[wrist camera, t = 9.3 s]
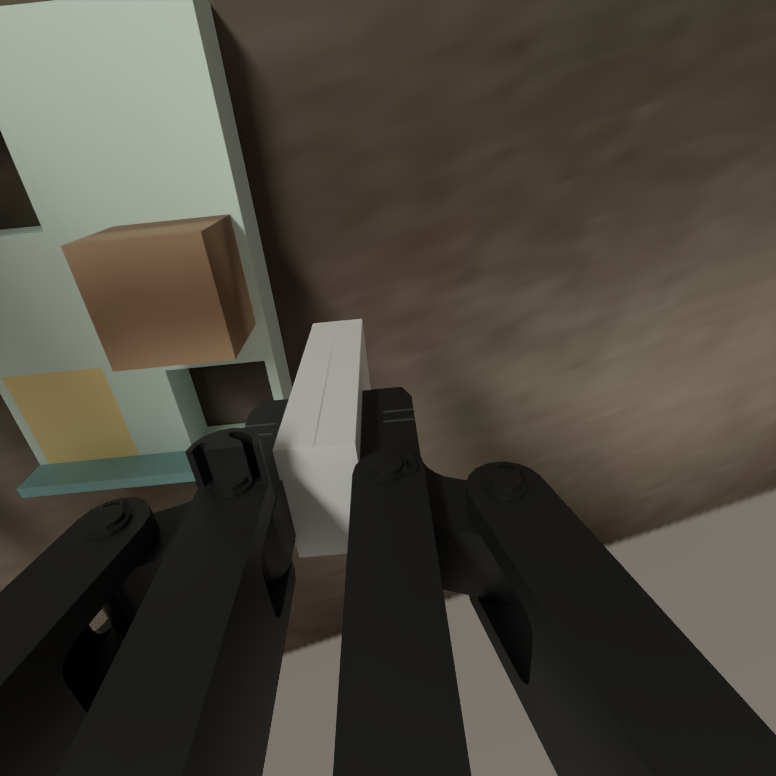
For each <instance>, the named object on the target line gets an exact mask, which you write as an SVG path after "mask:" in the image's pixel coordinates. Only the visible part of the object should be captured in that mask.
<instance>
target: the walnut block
mask: <svg viewBox="0 0 776 776" xmlns="http://www.w3.org/2000/svg"><path fill="white" fill-rule="evenodd" d="M61 248H62V251H63V253H64V256H65V258H66V260H67V263H68V265H69V268H70V270H71V272H72V275H73V277H74V279H75V282H76V284H77V287H78V289H79V291H80V294H81V296H82V299H83V301H84V303H85V306H86V308H87V311H88V313H89V315H90V318H91V320H92V323H93V325H94V327H95V330H96V332H97V335H98V337H99V339H100V342H101V344H102V346H103V349H104V351H105V354H106V356H107V358H108V361H109V363H110V366H111V368H112V370H113V372H115V371H125V370H135V369H145V368H155V367H165V366H175V365H185V364H195V363H205V362H215V361H225V360H235V359H236V358H237V356H238V354H239V353H240V351H241V349H242V348H243V346H244V344H245V342H246V341H247V339H248V337H249V335H250V334H251V332H252V330H253V328H254V327H255V325H256V322H255V317H254V313H253V309H252V305H251V301H250V297H249V292H248V288H247V284H246V280H245V276H244V272H243V267H242V263H241V259H240V255H239V251H238V247H237V242H236V238H235V234H234V230H233V226H232V222H231V218H230V214H227V215H218V216H208V217H198V218H188V219H179V220H169V221H159V222H150V223H140V224H130V225H120V226H113V227H110V228H108V229H105V230H102V231H99V232H97V233H94V234H91V235H89V236H86V237H83V238H81V239H78V240H75V241H72V242H70V243H67V244H64V245H62V246H61Z"/></svg>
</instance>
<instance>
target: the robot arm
mask: <svg viewBox="0 0 776 776" xmlns="http://www.w3.org/2000/svg"><path fill="white" fill-rule="evenodd" d="M185 453H186V456H187V459H188V461H189V464H190V467H191V470H192V472H193V475H194V478H195V481H196V484H197V486H198V490H197V492H196V494H195V496H194V498H193V500H192V501H190V502H188V503H185V504H182V505H179V506H176V507H173V508H169V509H166V510H163V511H160V512H156V513H153V512H152V510H151V507H150V506H149V504H148V503H147V502H146V501H145V500H143V499H139V498H136V497H130V498H120V499H116V500H113V501H109V502H106V503H104V504H102V505H100V506H98V507H96V508H94V509H92V510H90V511H89V512H88V513H86V514H85V515H84V516H82V517H81V518H80V519H78V520H77V521H76V522H75V523H74V524H73V525H72V526H71V527H70V528H68V529H67V530H66V531H65V532H64V533H63V534H62V535H61V536H60V537H59V538H58V539H57V540H56V541H55V542H53V543H52V544H51V545H50V546H49V547H48V548H47V549H46V550H45V551H44V552H43V553H42V554H41V555H40V556H38V557H37V558H36V559H35V560H34V561H33V562H32V563H31V564H30V565H29V566H28V567H27V568H26V569H25V570H23V571H22V572H21V573H20V574H19V575H18V576H17V577H16V578H15V579H14V580H13V581H12V582H11V583H10V584H8V585H7V586H6V587H5V588H4V589H3V590H2V591H1V592H0V776H262V774H263V768H264V762H265V756H266V750H267V744H268V739H269V733H270V727H271V721H272V715H273V709H274V703H275V697H276V692H277V686H278V680H279V674H280V668H281V662H282V656H283V651H284V645H285V639H286V633H287V627H288V621H289V615H290V609H291V604H292V598H293V592H294V586H295V569H294V565H293V562H292V553H293V548H294V543H295V542H296V546H297V550H298V554H299V558H303V557H314V556H326V555H337V554H347V564H346V580H345V595H344V611H343V627H342V643H341V658H340V673H339V690H338V705H337V721H336V736H335V752H334V767H333V776H471V771H470V764H469V758H468V751H467V744H466V738H465V732H464V725H463V718H462V712H461V705H460V699H459V692H458V686H457V679H456V672H455V666H454V660H453V653H452V646H451V641H450V633H449V627H448V620H447V614H446V607H445V600H444V594H443V590H448V591H453V592H457V593H462V594H467V595H469V597H470V601H471V603H472V605H473V607H474V609H475V611H476V613H477V615H478V617H479V619H480V621H481V623H482V625H483V627H484V629H485V631H486V633H487V635H488V637H489V639H490V641H491V643H492V645H493V647H494V649H495V651H496V653H497V655H498V657H499V659H500V661H501V663H502V665H503V667H504V669H505V671H506V673H507V675H508V677H509V679H510V681H511V683H512V685H513V686H514V689H515V691H516V693H517V695H518V697H519V699H520V701H521V703H522V705H523V707H524V709H525V711H526V713H527V715H528V717H529V719H530V721H531V723H532V725H533V727H534V729H535V731H536V732H537V735H538V737H539V739H540V741H541V743H542V745H543V747H544V749H545V751H546V753H547V755H548V757H549V759H550V761H551V763H552V765H553V767H554V769H555V771H556V773H557V775H558V776H776V735H775V734H774V732H772V731H771V729H770V728H769V727H768V726H767V725H766V724H765V723H764V722H763V720H762V719H761V718H760V717H759V716H758V715H757V714H756V713H755V712H754V711H753V709H752V708H751V707H750V706H749V705H748V704H747V703H746V702H745V701H744V700H743V698H742V697H741V696H740V695H739V694H738V693H737V692H736V691H735V690H734V688H733V687H731V685H730V684H729V683H728V682H727V681H726V680H725V679H724V677H723V676H722V675H721V674H720V673H719V672H718V671H717V670H716V669H715V668H714V667H713V665H712V664H711V663H710V662H709V661H708V660H707V659H706V658H705V657H704V656H703V655H702V653H701V652H700V651H699V650H698V649H697V648H696V647H695V646H694V645H693V643H692V642H691V641H690V640H689V639H688V638H687V637H686V636H685V635H684V633H683V632H682V631H681V630H680V629H679V628H678V627H677V626H676V625H675V624H674V622H673V621H672V620H671V619H670V618H669V617H668V616H667V615H666V614H665V613H664V612H663V610H662V609H661V608H660V607H659V606H658V605H657V604H656V603H655V602H654V600H653V599H652V598H651V597H650V596H649V595H648V594H647V593H646V592H645V591H644V590H643V589H642V587H641V586H640V585H639V584H638V583H637V582H636V581H635V580H634V578H632V577H631V575H630V574H629V573H628V572H627V571H626V570H625V569H624V567H623V566H622V565H621V564H620V563H619V562H618V561H617V560H616V559H615V558H614V556H613V555H612V554H611V553H610V552H609V551H608V550H607V549H606V548H605V547H604V545H603V544H602V543H601V542H600V541H599V540H598V539H597V538H596V537H595V536H594V534H593V533H592V532H591V531H590V530H589V529H588V528H587V527H586V526H585V525H584V523H583V522H582V521H581V520H580V519H579V518H578V517H577V516H576V515H575V514H574V512H573V511H572V510H571V509H570V508H569V507H568V506H567V505H566V504H565V503H564V501H563V500H562V499H561V498H560V497H559V496H558V495H557V494H556V493H555V492H554V490H553V489H552V488H551V487H550V486H549V485H548V484H547V483H546V482H545V481H544V479H543V478H542V477H541V476H540V475H538V474H537V473H536V472H534V471H533V470H532V469H530V468H528V467H525V466H522V465H520V464H517V463H509V462H495V463H488V464H485V465H483V466H480V467H478V468H476V469H475V470H474V471H473V472H472V473H471V474H470V475H469V476H468V480H461V479H454V478H450V477H445V476H442V475H440V474H437V473H435V472H433V471H432V470H430V469H429V468H428V467H427V466H426V465H425V464H424V463H423V461H422V459H421V456H420V449H419V443H418V436H417V430H416V423H415V416H414V410H413V403H412V397H411V395H410V394H409V393H408V392H407V391H405V390H404V389H403V388H402V387H395V388H385V389H374V390H371V387H370V379H369V371H368V363H367V355H366V347H365V338H364V330H363V322H362V319H354V320H344V321H334V322H323V323H313V325H312V328H311V331H310V335H309V338H308V341H307V344H306V347H305V350H304V353H303V356H302V360H301V363H300V366H299V369H298V372H297V375H296V378H295V381H294V385H293V388H292V391H291V394H290V397H289V399H282V400H272V401H263V402H262V403H261V404H260V405H258V406H257V407H256V408H255V409H254V410H253V411H252V412H251V413H250V415H249V417H248V419H247V421H246V424H245V427H244V428H229V429H224V430H218V431H216V432H213V433H210V434H208V435H205V436H203V437H202V438H200V439H199V440H197V441H196V442H194V443H193V444H192V445H191V446H190V447H189V448H188V449H187V450H186V451H185ZM101 609H103V611H104V612H105V614H106V616H107V617H108V619H107V620H106V622H105V623H104V624H103V625H102V626H101V627H100V628H98V629H97V630H96V631H93V630H92V629H91V627H90V626H89V623H90V622H91V621H92V620H93V619H94V617H95V616H96V615H97V614H98V612H99V611H100V610H101Z"/></svg>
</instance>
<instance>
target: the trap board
mask: <svg viewBox="0 0 776 776" xmlns="http://www.w3.org/2000/svg"><path fill="white" fill-rule="evenodd" d="M0 131H1V133H2V136H3V138H4V140H5V143H6V145H7V147H8V150H9V152H10V154H11V157H12V159H13V161H14V164H15V166H16V168H17V171H18V173H19V175H20V178H21V180H22V182H23V185H24V187H25V189H26V192H27V194H28V196H29V199H30V201H31V203H32V206H33V208H34V210H35V213H36V215H37V217H38V220H39V222H40V224H41V226H32V227H22V228H12V229H2V230H0V394H1V396H2V398H3V399H4V401H5V403H6V405H7V407H8V408H9V410H10V412H11V414H12V415H13V417H14V419H15V421H16V423H17V424H18V426H19V428H20V430H21V432H22V433H23V435H24V437H25V439H26V440H27V442H28V444H29V446H30V448H31V449H32V451H33V453H34V455H35V457H36V458H37V460H38V462H39V464H40V466H39V467H38V468H37V469H36V470H35V471H34V472H33V473H32V474H31V475H30V476H29V477H28V478H27V479H26V480H25V481H24V482H23V483H22V484H21V485H20V486H19V487H18V488H17V491H18V493H19V494H20V496H21V497H22V498H27V497H38V496H48V495H58V494H69V493H79V492H89V491H99V490H110V489H120V488H130V487H141V486H151V485H161V484H171V483H182V482H192V481H195V478H194V475H193V472H192V470H191V467H190V464H189V461H188V459H187V456H186V453H185V451H186V450H187V449H188V448H189V447H190V446H191V445H192V444H193V443H194V442H196V441H197V440H199V439H200V438H202V437H203V436H205V435H208V434H210V433H213V432H216V431H218V430H224V429H229V428H244V427H245V424H246V423H238V424H228V425H217V426H207V424H206V421H205V418H204V415H203V412H202V409H201V406H200V403H199V400H198V397H197V394H196V391H195V388H194V384H193V381H192V378H191V375H190V372H189V369H188V368H196V367H206V366H216V365H226V364H236V363H246V362H256V361H265V365H266V369H267V374H268V378H269V382H270V386H271V390H272V394H273V399H274V400H282V399H289V397H290V394H291V391H292V383H291V379H290V374H289V369H288V365H287V360H286V355H285V351H284V346H283V341H282V337H281V332H280V327H279V323H278V318H277V313H276V309H275V304H274V299H273V295H272V290H271V285H270V281H269V276H268V271H267V267H266V262H265V257H264V253H263V248H262V243H261V239H260V234H259V229H258V225H257V220H256V215H255V211H254V206H253V201H252V197H251V192H250V187H249V183H248V178H247V173H246V169H245V164H244V159H243V155H242V150H241V145H240V141H239V136H238V131H237V127H236V122H235V117H234V113H233V108H232V103H231V99H230V94H229V89H228V85H227V80H226V75H225V71H224V66H223V61H222V57H221V52H220V47H219V43H218V38H217V33H216V29H215V24H214V19H213V15H212V10H211V5H210V3H209V2H208V1H206V0H55V1H46V2H36V3H27V4H17V5H8V6H0ZM227 214H230V218H231V222H232V226H233V230H234V234H235V238H236V242H237V247H238V251H239V255H240V259H241V263H242V267H243V272H244V276H245V280H246V284H247V288H248V292H249V297H250V301H251V305H252V309H253V313H254V317H255V322H256V325H255V327H254V328H253V330H252V332H251V334H250V335H249V337H248V339H247V341H246V342H245V344H244V346H243V348H242V349H241V351H240V353H239V354H238V356H237V358H236V359H235V360H225V361H215V362H205V363H195V364H185V365H175V366H165V367H155V368H145V369H135V370H125V371H115V372H113V370H112V368H111V366H110V363H109V361H108V358H107V356H106V354H105V351H104V349H103V346H102V344H101V342H100V339H99V337H98V335H97V332H96V330H95V327H94V325H93V323H92V320H91V318H90V315H89V313H88V311H87V308H86V306H85V303H84V301H83V299H82V296H81V294H80V291H79V289H78V287H77V284H76V282H75V279H74V277H73V275H72V272H71V270H70V268H69V265H68V263H67V260H66V258H65V256H64V253H63V251H62V248H61V246H62V245H64V244H67V243H70V242H72V241H75V240H78V239H81V238H83V237H86V236H89V235H91V234H94V233H97V232H99V231H102V230H105V229H108V228H110V227H113V226H120V225H130V224H140V223H150V222H159V221H169V220H179V219H188V218H198V217H208V216H218V215H227Z"/></svg>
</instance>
